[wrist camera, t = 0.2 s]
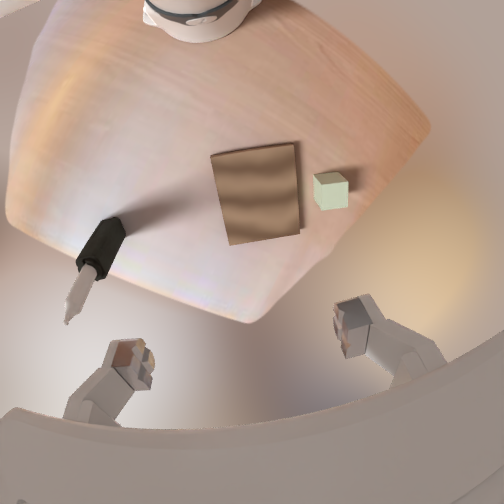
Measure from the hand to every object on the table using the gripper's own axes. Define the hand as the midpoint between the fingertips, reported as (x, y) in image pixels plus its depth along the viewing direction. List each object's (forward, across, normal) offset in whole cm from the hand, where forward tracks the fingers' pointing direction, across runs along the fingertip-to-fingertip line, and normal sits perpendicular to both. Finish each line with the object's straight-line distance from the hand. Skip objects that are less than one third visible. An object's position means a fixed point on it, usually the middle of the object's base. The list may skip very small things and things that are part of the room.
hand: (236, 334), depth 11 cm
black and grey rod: (+40, +27, +8) cm, 49 cm away
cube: (+40, -16, +9) cm, 44 cm away
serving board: (+40, -3, +8) cm, 41 cm away
